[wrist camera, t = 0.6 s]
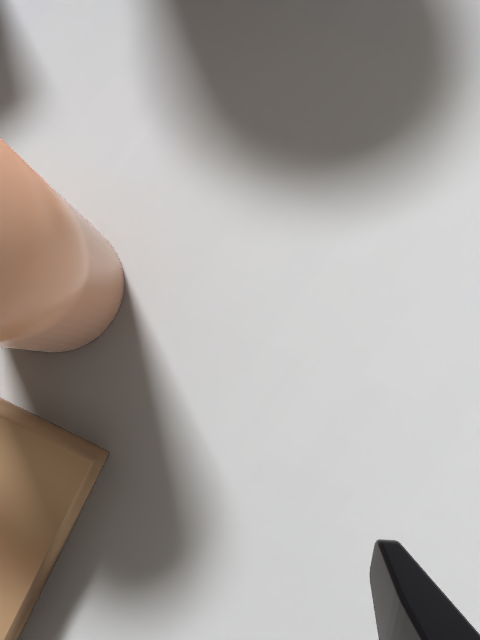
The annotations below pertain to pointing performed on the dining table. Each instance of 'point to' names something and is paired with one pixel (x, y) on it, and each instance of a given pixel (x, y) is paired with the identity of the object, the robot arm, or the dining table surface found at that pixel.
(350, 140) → the dining table surface
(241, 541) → the dining table surface
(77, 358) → the dining table surface
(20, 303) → the peach domed cylinder
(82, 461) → the base board
